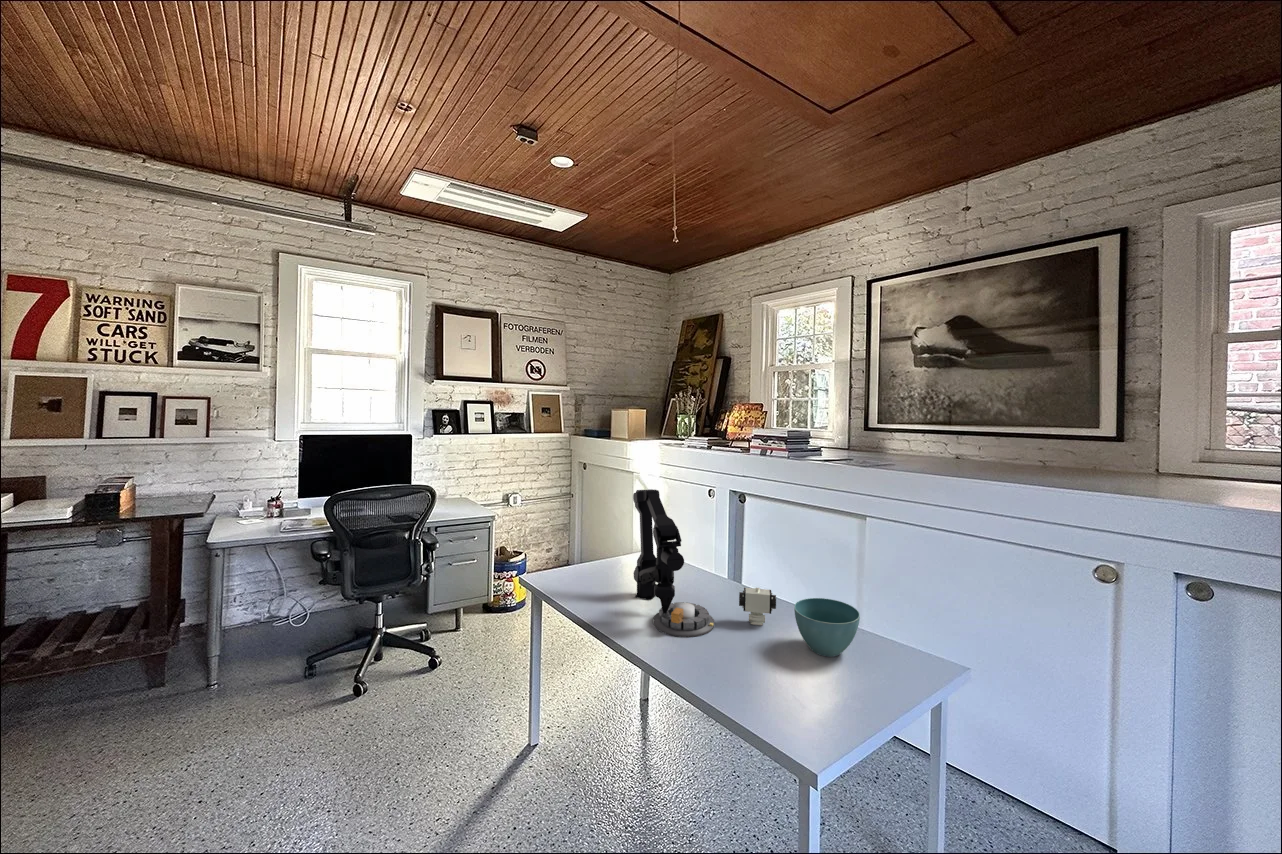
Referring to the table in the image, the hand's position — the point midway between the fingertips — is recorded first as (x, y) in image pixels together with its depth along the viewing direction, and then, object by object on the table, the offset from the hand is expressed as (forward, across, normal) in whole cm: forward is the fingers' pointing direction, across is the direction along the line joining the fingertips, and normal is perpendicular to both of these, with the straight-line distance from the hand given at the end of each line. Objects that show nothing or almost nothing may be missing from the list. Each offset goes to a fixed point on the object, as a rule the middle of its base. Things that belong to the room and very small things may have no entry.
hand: (664, 607), depth 175 cm
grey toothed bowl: (+3, +2, +6) cm, 7 cm away
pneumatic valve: (+5, -1, +30) cm, 31 cm away
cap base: (+5, +1, +6) cm, 8 cm away
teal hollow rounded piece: (+5, +16, +48) cm, 50 cm away
